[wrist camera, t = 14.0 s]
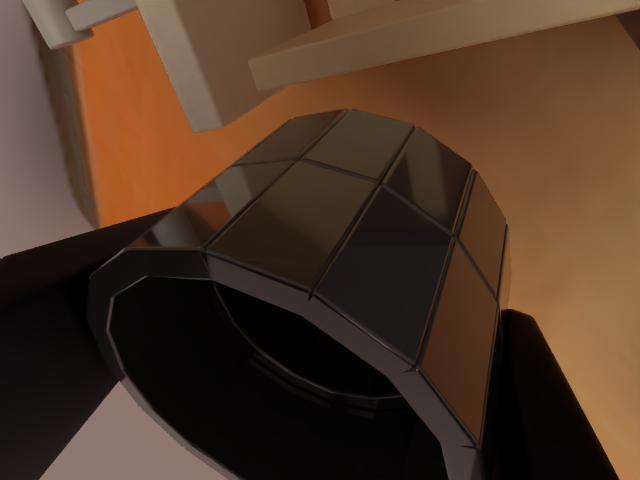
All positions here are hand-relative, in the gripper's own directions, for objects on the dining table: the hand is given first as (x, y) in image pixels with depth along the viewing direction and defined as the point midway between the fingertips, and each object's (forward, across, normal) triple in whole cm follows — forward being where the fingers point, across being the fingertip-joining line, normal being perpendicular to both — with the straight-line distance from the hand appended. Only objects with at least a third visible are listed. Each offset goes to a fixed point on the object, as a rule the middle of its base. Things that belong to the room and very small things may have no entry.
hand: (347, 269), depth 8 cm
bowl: (+1, 0, 0) cm, 1 cm away
